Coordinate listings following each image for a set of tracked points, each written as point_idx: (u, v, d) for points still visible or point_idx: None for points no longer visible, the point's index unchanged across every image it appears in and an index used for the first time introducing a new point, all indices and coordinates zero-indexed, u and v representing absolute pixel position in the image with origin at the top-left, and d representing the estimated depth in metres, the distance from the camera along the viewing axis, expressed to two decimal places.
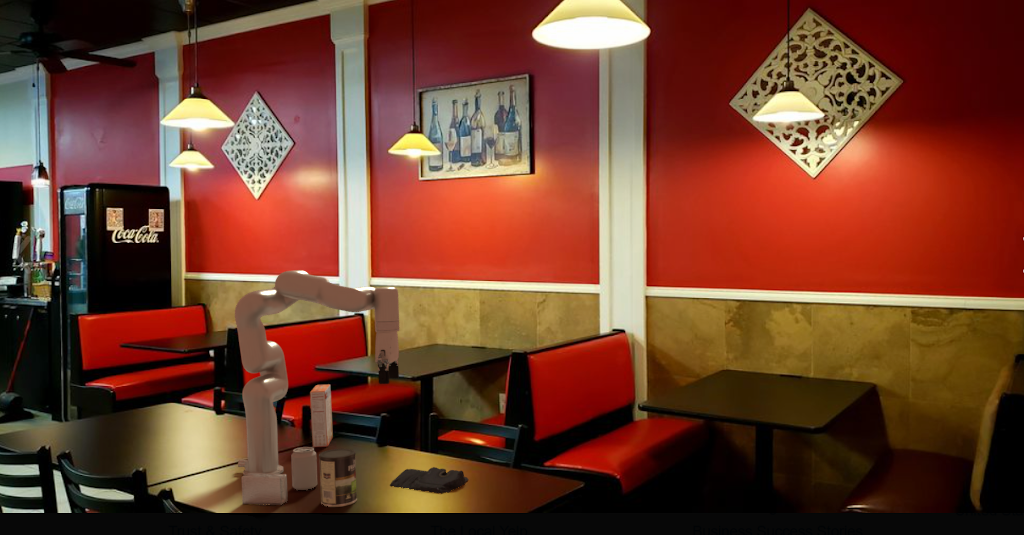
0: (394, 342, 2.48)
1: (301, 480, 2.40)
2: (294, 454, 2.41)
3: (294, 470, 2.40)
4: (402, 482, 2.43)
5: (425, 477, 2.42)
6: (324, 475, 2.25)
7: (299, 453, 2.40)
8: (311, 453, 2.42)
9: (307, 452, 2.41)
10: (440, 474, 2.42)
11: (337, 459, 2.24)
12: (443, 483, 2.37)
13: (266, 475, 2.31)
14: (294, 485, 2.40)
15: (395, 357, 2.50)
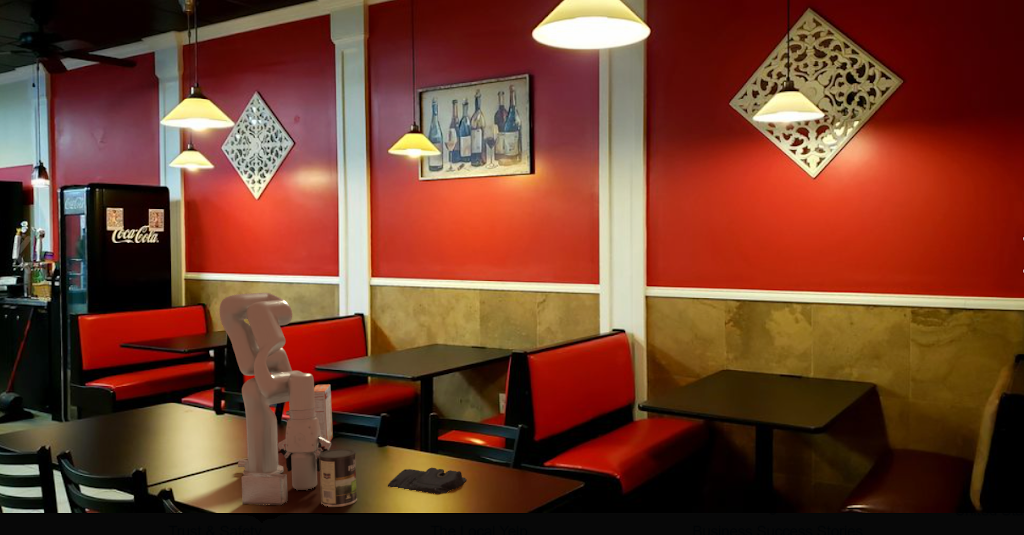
0: None
1: (301, 480, 2.40)
2: (294, 454, 2.41)
3: (294, 470, 2.40)
4: (400, 482, 2.42)
5: (423, 478, 2.42)
6: (324, 475, 2.25)
7: (299, 453, 2.40)
8: (311, 453, 2.42)
9: None
10: (438, 474, 2.42)
11: (337, 459, 2.24)
12: (441, 484, 2.36)
13: (266, 475, 2.31)
14: (294, 485, 2.40)
15: None
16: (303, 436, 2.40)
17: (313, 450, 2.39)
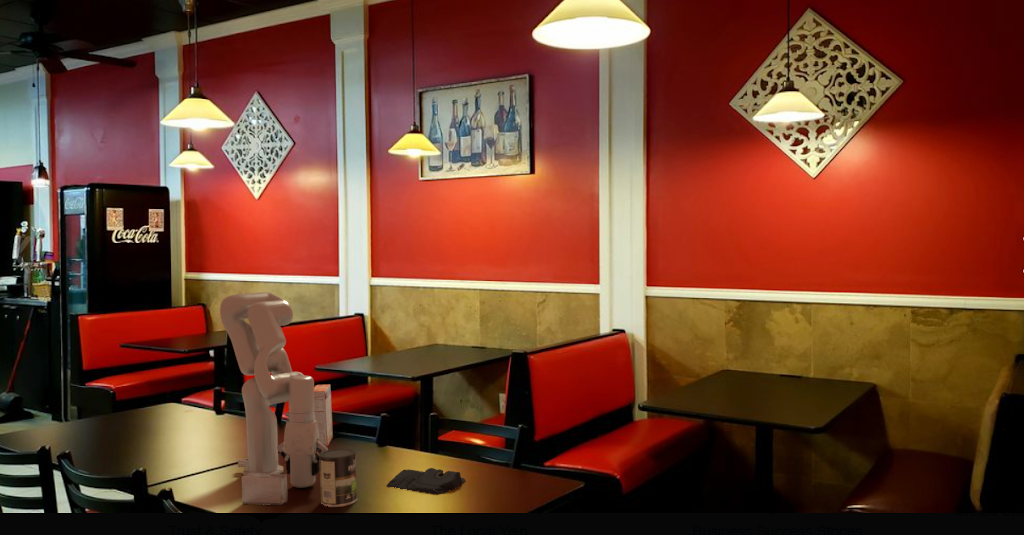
0: None
1: (300, 477, 2.40)
2: None
3: (293, 467, 2.41)
4: (399, 483, 2.42)
5: (422, 478, 2.41)
6: (324, 475, 2.25)
7: (298, 450, 2.40)
8: None
9: None
10: (437, 475, 2.41)
11: (337, 459, 2.24)
12: (439, 484, 2.36)
13: (266, 475, 2.31)
14: (292, 482, 2.41)
15: None
16: (302, 439, 2.40)
17: (311, 453, 2.40)
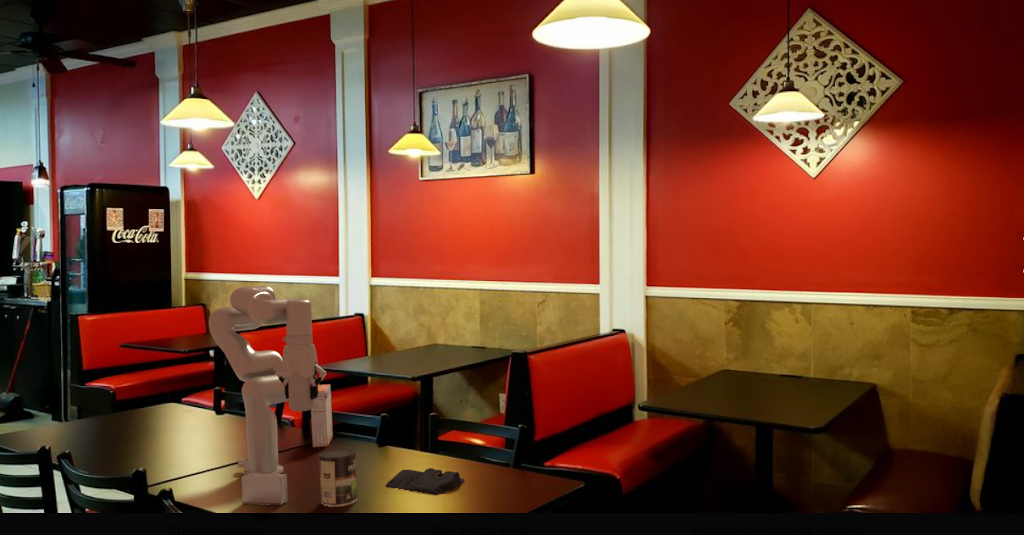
0: None
1: (298, 401, 2.39)
2: None
3: (291, 391, 2.39)
4: (398, 483, 2.42)
5: (421, 478, 2.41)
6: (324, 475, 2.25)
7: (296, 373, 2.39)
8: None
9: None
10: (436, 475, 2.41)
11: (337, 459, 2.24)
12: (438, 485, 2.36)
13: (266, 475, 2.31)
14: (291, 406, 2.40)
15: None
16: (300, 362, 2.39)
17: (309, 376, 2.39)
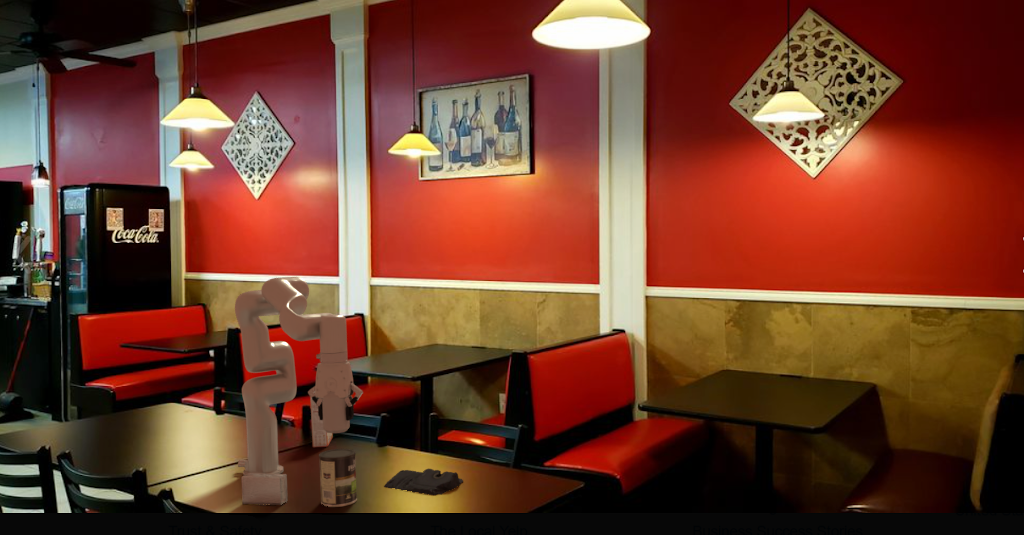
0: None
1: (333, 422, 2.25)
2: None
3: (326, 411, 2.25)
4: (396, 483, 2.41)
5: (420, 479, 2.41)
6: (324, 475, 2.25)
7: (331, 393, 2.25)
8: None
9: None
10: (434, 476, 2.41)
11: (337, 459, 2.24)
12: (437, 485, 2.35)
13: (266, 475, 2.31)
14: (325, 427, 2.26)
15: None
16: (335, 381, 2.25)
17: (345, 396, 2.25)
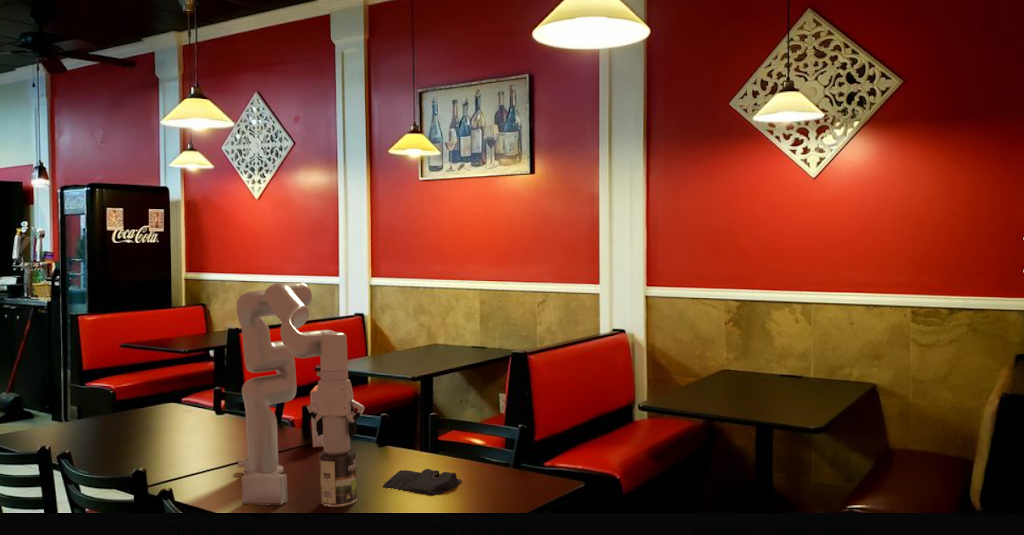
0: None
1: (334, 444, 2.25)
2: (326, 416, 2.27)
3: (326, 434, 2.26)
4: (395, 483, 2.41)
5: (418, 479, 2.40)
6: (324, 475, 2.25)
7: (331, 415, 2.26)
8: (344, 416, 2.27)
9: None
10: (433, 476, 2.40)
11: (337, 459, 2.24)
12: (435, 486, 2.35)
13: (266, 475, 2.31)
14: (326, 449, 2.26)
15: None
16: (335, 399, 2.25)
17: (345, 413, 2.25)
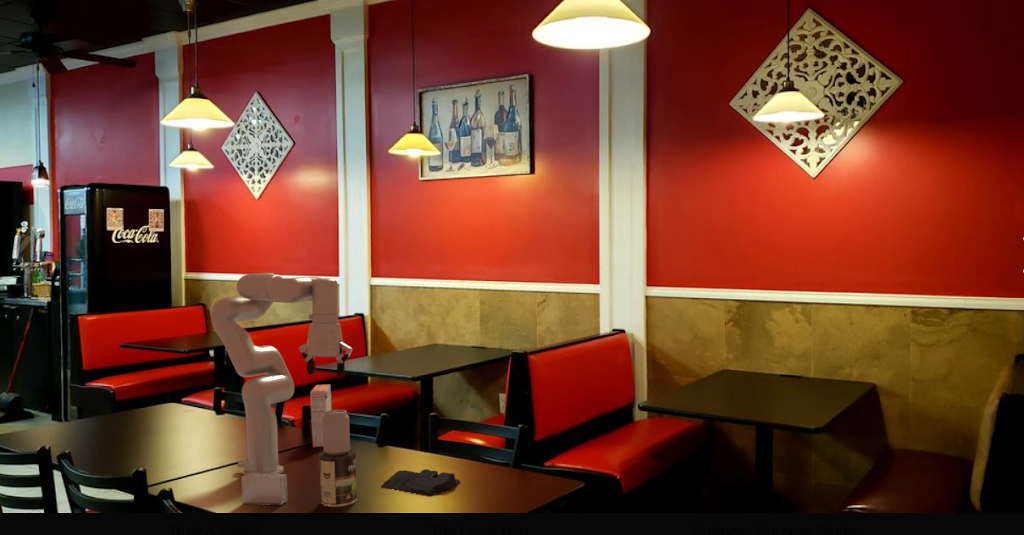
0: None
1: (334, 444, 2.25)
2: (326, 416, 2.27)
3: (326, 434, 2.26)
4: (393, 484, 2.41)
5: (416, 479, 2.40)
6: (324, 475, 2.25)
7: (331, 415, 2.26)
8: (344, 416, 2.27)
9: (340, 414, 2.26)
10: (431, 476, 2.40)
11: (337, 459, 2.24)
12: (433, 486, 2.35)
13: (266, 475, 2.31)
14: (326, 449, 2.26)
15: None
16: (325, 340, 2.40)
17: (334, 354, 2.39)
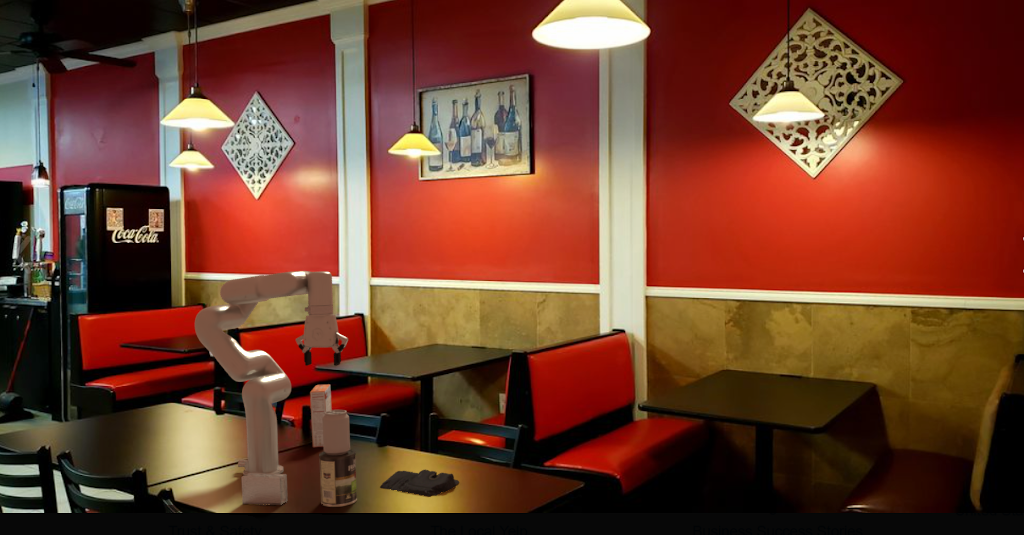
0: None
1: (334, 444, 2.25)
2: (326, 416, 2.27)
3: (326, 434, 2.26)
4: (392, 484, 2.41)
5: (415, 480, 2.40)
6: (324, 475, 2.25)
7: (331, 415, 2.26)
8: (344, 416, 2.27)
9: (340, 414, 2.26)
10: (430, 477, 2.40)
11: (337, 459, 2.24)
12: (432, 486, 2.34)
13: (266, 475, 2.31)
14: (326, 449, 2.26)
15: None
16: (321, 331, 2.47)
17: (331, 344, 2.47)
